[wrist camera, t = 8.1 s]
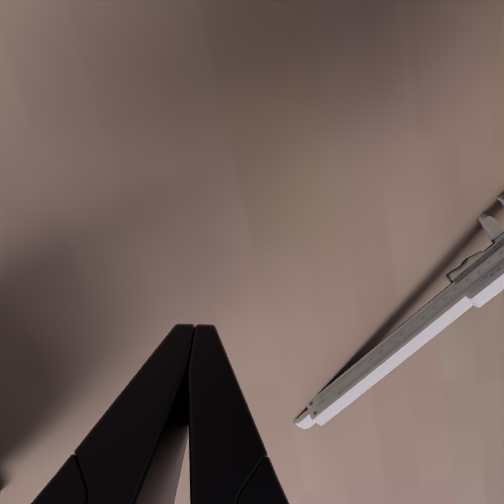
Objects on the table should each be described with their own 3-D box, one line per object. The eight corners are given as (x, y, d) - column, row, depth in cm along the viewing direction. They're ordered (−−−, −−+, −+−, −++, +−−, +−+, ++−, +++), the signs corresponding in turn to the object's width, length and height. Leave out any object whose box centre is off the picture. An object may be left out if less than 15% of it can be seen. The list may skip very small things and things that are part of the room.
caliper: (497, 190, 26) (601, 210, 21) (505, 201, 27) (608, 223, 21) (291, 418, 27) (335, 498, 21) (301, 425, 28) (347, 505, 22)
